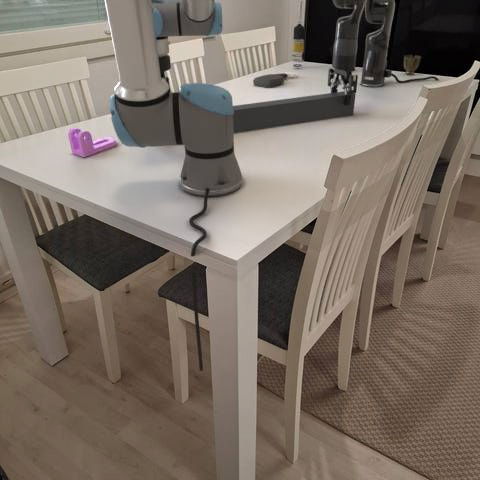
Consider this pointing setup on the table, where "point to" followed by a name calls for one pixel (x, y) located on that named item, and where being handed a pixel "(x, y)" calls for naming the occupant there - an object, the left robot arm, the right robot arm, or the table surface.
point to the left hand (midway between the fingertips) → (164, 130)
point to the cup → (411, 63)
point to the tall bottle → (298, 39)
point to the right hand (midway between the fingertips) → (339, 102)
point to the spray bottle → (272, 79)
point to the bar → (290, 111)
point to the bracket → (88, 143)
